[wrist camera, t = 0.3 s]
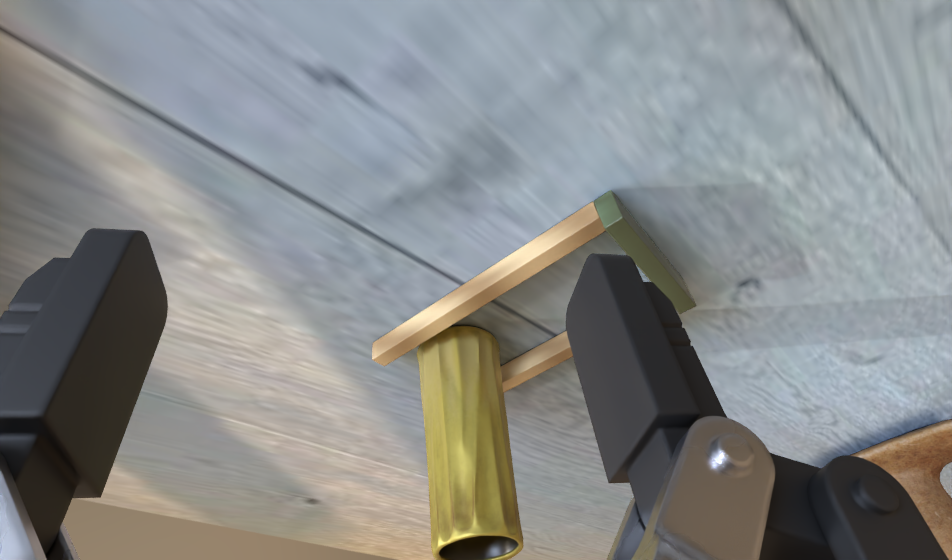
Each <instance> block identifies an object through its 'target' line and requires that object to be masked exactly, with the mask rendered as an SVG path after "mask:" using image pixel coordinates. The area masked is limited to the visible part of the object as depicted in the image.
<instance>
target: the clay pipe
mask: <svg viewBox="0 0 952 560" xmlns="http://www.w3.org/2000/svg"><path fill="white" fill-rule="evenodd" d="M850 456H857V457H860V458H864V459H866V460H868V461H871V462H873V463H875V464H876V465H878V466H880V467H881V468H883V469H884V470H886V471H887V472H888V473H889V474H891V475H892V476H893V477H894V478H895V479H896V480H897V481H898V482H899V483H900V484H901V485H902V486H903V487H904V489H905V490H906V491H907V492H908V494H909V495H910V497H911V498H912V500H913V502H914V503H915V505H916V507H917V508H918V510H919V511H920V513H921V515H922V516H923V518H924V520H925V521H926V523H927V525H928V526H929V528H930V530H931V531H932V533H933V535H934V536H935V538H936V539H937V541H938V543H939V544H940V546H941V548H942V549H943V551H944V553H945V554H946V556H947V558H948V559H949V560H952V498H951V497H950V496H949V495H948V493H947V492H946V491H945V489H944V488H943V486H942V484H941V482H940V472H941V471H942V469H943V467H944V466H945V465H946V464H948V463H950V462H952V419H950V420H945V421H942V422H939V423H936V424H933V425H929V426H926V427H923V428H921V429H918V430H915V431H912V432H909V433H906V434H903V435H901V436H898V437H895V438H892V439H889V440H886V441H884V442H882V443H880V444H877V445H874V446H871V447H869V448H866V449H864V450H861V451H859V452H857V453H854V454H851V455H850ZM821 469H822V468H821Z"/></svg>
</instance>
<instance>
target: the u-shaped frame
mask: <svg viewBox="0 0 952 560" xmlns="http://www.w3.org/2000/svg"><path fill="white" fill-rule="evenodd" d="M605 231H607V232H608V233H609V234H610V236H611V237H612V238H613V239H614V240H615V241H616V242H617V243H618V245H619V246H620V247H621V248H622V249H623V250H624V251H625V252H626V254H627V255H628V256H630V257H631V258H632V259H633V260H634V262H635V264H636V265H637V266H638V267H639V268H640V269H641V271H642V272H643V273H644V274H645V275H646V276H647V277H648V278H649V280H650V281H651V282H653V283H654V284H655V285H656V286H657V287H658V288H659V289H660V290H661V291H662V292H663V293H664V294H665V295H666V296H667V297H668V298H669V299H670V300H671V302H672V303H673V305H674V307H675V309H676V310H677V311H678V312H679V313H680V314H681V313H683V312H685V311H687V310H689V309H691V308H693V307H695V306H696V304H695V302H694V300H693V298H692V296H691V294H690V292H689V290H688V288H687V286H686V284H685V282H684V280H683V278H682V277H681V276H680V275H679V273H678V272H677V271H676V270H675V268H674V267H673V266H672V265H671V264H670V262H669V261H668V260H667V259H666V257H665V256H664V255H663V254H662V252H661V251H660V250H659V249H658V247H657V246H656V245H655V244H654V243H653V241H652V240H651V239H650V238H649V236H648V235H647V234H646V233H645V231H644V230H643V229H642V228H641V227H640V225H639V224H638V223H637V222H636V220H635V219H634V218H633V217H632V215H631V214H630V213H629V212H628V210H627V209H626V208H625V207H624V206H623V204H622V203H621V202H620V201H619V199H618V198H617V197H616V196H615V194H614V193H613V192H612V191H611V190H610V191H608V192H607V193H605V194H604V195H602V196H601V197H599V198H598V199H596V200H594V202H591V203H589V204H588V205H586V206H585V207H583V208H582V209H580V210H579V211H577V212H575V213H574V214H572V215H571V216H569V217H568V218H566V219H565V220H563V221H561V222H560V223H558V224H557V225H555V226H554V227H552V228H551V229H549V230H547V231H546V232H544V233H543V234H541V235H540V236H538V237H537V238H535V239H533V240H532V241H530V242H529V243H527V244H526V245H524V246H523V247H521V248H520V249H518V250H516V251H515V252H513V253H512V254H510V255H509V256H507V257H506V258H504V259H502V260H501V261H499V262H498V263H496V264H495V265H493V266H492V267H490V268H488V269H487V270H485V271H484V272H482V273H481V274H479V275H478V276H476V277H474V278H473V279H471V280H470V281H468V282H467V283H465V284H464V285H462V286H460V287H459V288H457V289H456V290H454V291H453V292H451V293H450V294H448V295H446V296H445V297H443V298H442V299H440V300H439V301H437V302H436V303H434V304H432V305H431V306H429V307H428V308H426V309H425V310H423V311H422V312H420V313H418V314H417V315H415V316H414V317H412V318H411V319H409V320H408V321H406V322H404V323H403V324H401V325H400V326H398V327H397V328H395V329H394V330H392V331H390V332H389V333H387V334H386V335H384V336H383V337H381V338H380V339H378V340H376V341H375V342H373V349H372V360H374V361H376V362H377V363H379V364H381V365H383V366H386V365H387V364H389V363H391V362H392V361H394V360H396V359H397V358H399V357H400V356H402V355H404V354H405V353H407V352H409V351H410V350H412V349H413V348H415V347H417V346H418V345H420V344H422V343H423V342H425V341H427V340H428V339H430V338H431V337H433V336H435V335H436V334H438V333H440V332H441V331H443V330H445V329H446V328H448V327H449V326H451V325H453V324H454V323H456V322H458V321H459V320H461V319H462V318H464V317H466V316H467V315H469V314H471V313H472V312H474V311H476V310H477V309H479V308H480V307H482V306H484V305H485V304H487V303H489V302H490V301H492V300H494V299H495V298H497V297H498V296H500V295H502V294H503V293H505V292H507V291H508V290H510V289H512V288H513V287H515V286H516V285H518V284H520V283H521V282H523V281H525V280H526V279H528V278H529V277H531V276H533V275H534V274H536V273H538V272H539V271H541V270H543V269H544V268H546V267H547V266H549V265H551V264H552V263H554V262H556V261H557V260H559V259H561V258H562V257H564V256H565V255H567V254H569V253H570V252H572V251H574V250H575V249H577V248H578V247H580V246H582V245H583V244H585V243H587V242H588V241H590V240H592V239H593V238H595V237H596V236H598V235H600V234H601V233H603V232H605ZM571 357H573V354H572V350H571V347H570V343H569V340H568V336H567V331H565V332H563V333H561V334H559V335H557V336H556V337H554V338H552V339H550V340H548V341H546V342H545V343H543V344H541V345H539V346H537V347H536V348H534V349H532V350H530V351H528V352H526V353H525V354H523V355H521V356H519V357H517V358H515V359H514V360H512V361H510V362H508V363H506V364H505V365H503V366H501V376H502V386H503V393H504V392H506V391H508V390H510V389H511V388H513V387H515V386H517V385H519V384H521V383H523V382H525V381H527V380H529V379H531V378H533V377H534V376H536V375H538V374H540V373H542V372H544V371H546V370H548V369H550V368H552V367H554V366H555V365H557V364H559V363H561V362H563V361H565V360H567V359H569V358H571Z"/></svg>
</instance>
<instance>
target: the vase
mask: <svg viewBox="0 0 952 560" xmlns="http://www.w3.org/2000/svg"><path fill="white" fill-rule="evenodd" d="M499 350H500V348H499V344H498V342H497V341H496V339H495V338H494V337H493V335H491V334H490V333H489V332H487V331H485V330H483V329H480V328H477V327H472V326H454V327H448V328H446V329H445V330H443V331H441V332H440V333H438V334H436V335H435V336H433V337H431V338H430V339H428V340H427V341H425V342H423V343H422V344H420V346H419V348H418V351H417V358H418V361H419V370H420V383H421V397H422V406H423V414H424V424H425V436H426V449H427V465H428V478H429V501H430V518H431V548H432V553H433V556H434V558H435V559H436V560H507V559H510V558H512V557H514V556H515V555H517V554H518V553H519V552H520V551H521V550H522V548H523V535H522V530H521V525H520V518H519V511H518V504H517V495H516V488H515V480H514V473H513V465H512V456H511V449H510V442H509V433H508V424H507V416H506V408H505V401H504V393H503V386H502V376H501V366H500V357H499Z"/></svg>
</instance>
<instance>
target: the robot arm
mask: <svg viewBox="0 0 952 560" xmlns="http://www.w3.org/2000/svg"><path fill="white" fill-rule="evenodd" d="M167 308H168V303H167V294H166V290H165V287H164V284H163V281H162V278H161V275H160V272H159V269H158V266H157V263H156V260H155V257H154V254H153V251H152V248H151V245H150V242H149V240H148V237H147V235H146V234H145V233H144V232H143V231H138V230H117V229H96V228H93V229H90V230H88V231H87V232H86V233H85V235H84V236H83V238H82V239H81V241H80V243H79V245H78V246H77V248H76V250H75V251H74V253H73V255H72V256H71V258H53V259H52V260H51V261H49V262H48V263H47V264H45V265H44V266H43V267H41V268H40V269H39V270H38V271H36V272H35V273H34V274H32V275H31V276H30V277H28V278H27V279H26V280H25V281H24V283H23V284H22V286H21V287H20V289H19V290H18V292H17V293H16V295H15V297H14V298H13V300H12V301H11V303H10V304H9V310H8V311H5V312H4V313H3V315H2V317H1V318H0V560H80V558H79V556H78V554H77V552H76V550H75V547H74V545H73V543H72V540H71V539H70V536H69V534H68V532H67V529H66V527H65V526H64V524H63V519H64V517H65V514H66V512H67V510H68V507H69V505H70V502H71V500H72V498H96V497H101V495H102V492H103V490H104V487H105V484H106V482H107V479H108V476H109V474H110V471H111V468H112V466H113V463H114V460H115V458H116V455H117V452H118V450H119V447H120V444H121V442H122V439H123V436H124V434H125V431H126V428H127V425H128V423H129V420H130V417H131V415H132V412H133V409H134V407H135V404H136V401H137V399H138V396H139V393H140V391H141V388H142V385H143V383H144V380H145V377H146V375H147V372H148V369H149V367H150V364H151V361H152V359H153V356H154V353H155V351H156V348H157V345H158V342H159V340H160V337H161V334H162V332H163V329H164V326H165V323H166V318H167ZM566 331H567V336H568V340H569V343H570V347H571V350H572V354H573V358H574V361H575V365H576V368H577V372H578V375H579V379H580V383H581V386H582V390H583V393H584V397H585V400H586V404H587V407H588V411H589V415H590V418H591V422H592V425H593V429H594V432H595V436H596V440H597V443H598V447H599V450H600V454H601V457H602V461H603V465H604V468H605V472H606V475H607V479H608V482H609V483H630V485H631V488H632V491H633V494H634V498H633V499H632V500H631V502H630V504H629V506H628V508H627V511H626V513H625V516H624V518H623V521H622V523H621V526H620V528H619V531H618V533H617V536H616V538H615V541H614V543H613V545H612V548H611V550H610V553H609V555H608V558H607V560H949V559H948V558H947V556H946V554H945V553H944V551H943V549H942V548H941V546H940V544H939V543H938V541H937V539H936V538H935V536H934V535H933V533H932V531H931V530H930V528H929V526H928V525H927V523H926V521H925V520H924V518H923V516H922V515H921V513H920V511H919V510H918V508H917V507H916V505H915V503H914V502H913V500H912V498H911V497H910V495H909V494H908V492H907V491H906V490H905V489H904V487H903V486H902V485H901V484H900V483H899V482H898V481H897V480H896V479H895V478H894V477H893V476H892V475H891V474H889V473H888V472H887V471H886V470H884V469H883V468H881V467H880V466H878V465H876V464H875V463H873V462H871V461H868V460H866V459H864V458H860V457H857V456H850V455H847V456H840V457H837V458H835V459H833V460H832V461H831V462H829V463H828V464H827V465H826V466H824V467H823V468H822V469H821V468H818V467H814V466H811V465H808V464H804V463H801V462H798V461H794V460H791V459H788V458H784V457H781V456H778V455H775V454H772V453H769V451H768V450H767V448H766V446H765V445H764V444H763V442H762V441H761V440H760V439H759V438H758V437H757V436H756V435H755V434H754V433H753V432H752V431H750V430H749V429H748V428H747V427H745V426H743V425H742V424H740V423H738V422H736V421H734V420H732V419H729V418H727V416H726V414H725V413H724V411H723V409H722V407H721V404H720V402H719V400H718V398H717V396H716V394H715V392H714V390H713V388H712V385H711V383H710V381H709V379H708V377H707V375H706V373H705V371H704V369H703V367H702V364H701V362H700V360H699V358H698V356H697V354H696V352H695V350H694V348H693V346H690V342H691V341H690V339H689V337H688V335H687V333H686V331H685V329H684V328H682V322H681V320H680V318H679V316H678V314H677V312H676V310H675V307H674V305H673V303H672V302H671V300H670V299H669V298H668V297H667V296H666V295H665V294H664V293H663V292H662V291H661V290H660V289H659V288H658V287H657V286H656V285H655V284H654V283H653V282H643V280H642V278H641V276H640V274H639V271H638V269H637V267H636V265H635V262H634V260H633V259H632V258H631V257H630V256H628V255H611V254H591V255H589V256H588V258H587V260H586V262H585V264H584V267H583V269H582V272H581V274H580V277H579V279H578V282H577V284H576V287H575V289H574V292H573V294H572V297H571V299H570V302H569V304H568V308H567V313H566Z"/></svg>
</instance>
